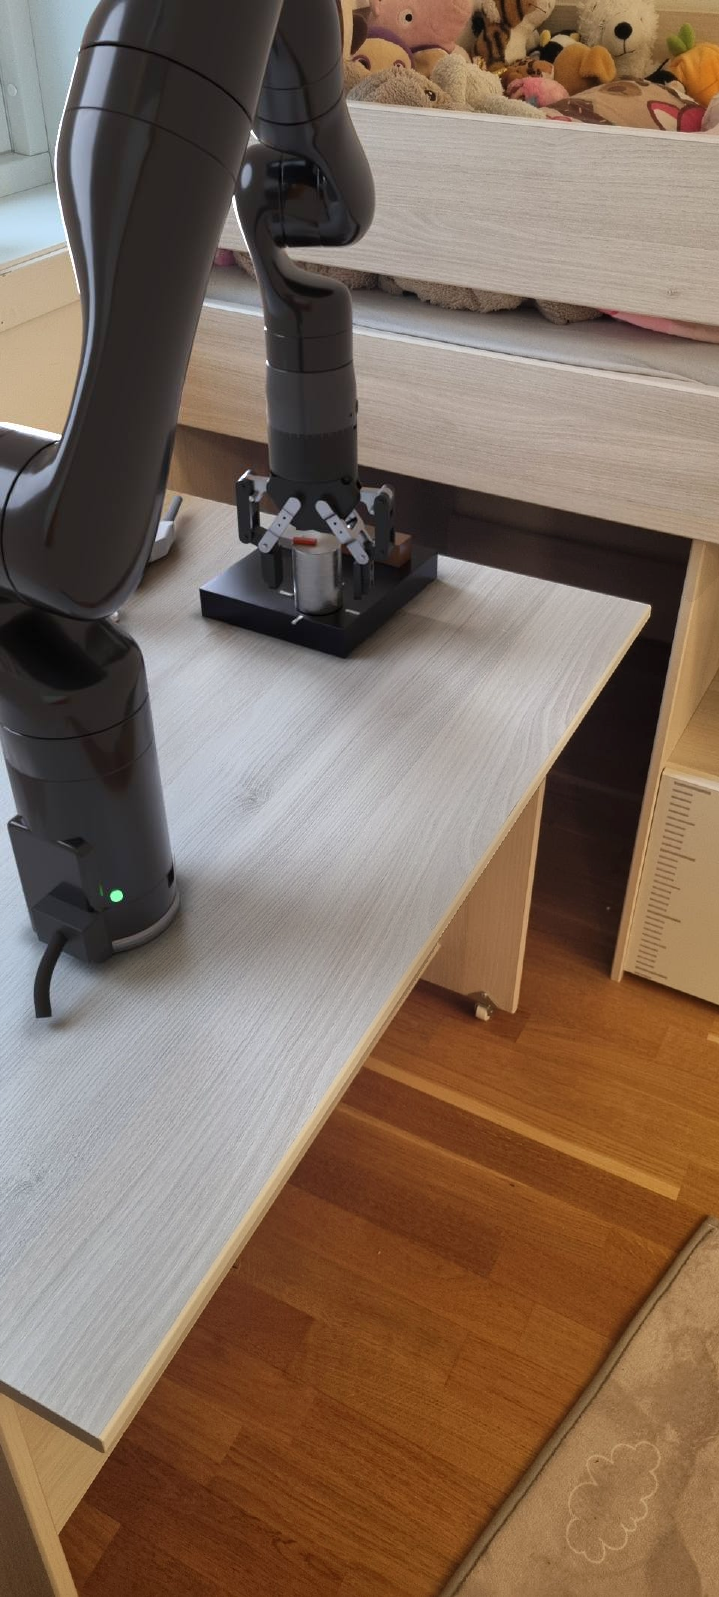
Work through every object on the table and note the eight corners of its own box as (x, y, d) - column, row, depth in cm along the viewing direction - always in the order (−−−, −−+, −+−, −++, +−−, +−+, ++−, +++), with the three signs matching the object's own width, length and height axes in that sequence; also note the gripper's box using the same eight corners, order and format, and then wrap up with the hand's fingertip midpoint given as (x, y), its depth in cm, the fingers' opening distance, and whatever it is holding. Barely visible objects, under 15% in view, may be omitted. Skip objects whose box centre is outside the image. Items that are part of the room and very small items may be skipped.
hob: (337, 665, 107) (336, 634, 105) (193, 622, 114) (190, 592, 112) (437, 577, 120) (438, 548, 118) (303, 543, 127) (302, 515, 125)
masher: (420, 550, 118) (420, 528, 117) (390, 575, 114) (390, 552, 113) (301, 521, 124) (300, 499, 122) (268, 543, 120) (267, 521, 118)
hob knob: (347, 594, 111) (346, 531, 107) (336, 617, 108) (334, 553, 104) (302, 589, 112) (299, 527, 108) (289, 612, 109) (285, 548, 105)
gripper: (214, 422, 98) (230, 600, 108) (383, 438, 95) (383, 620, 105) (246, 391, 104) (258, 563, 114) (406, 405, 100) (404, 581, 110)
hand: (318, 590), depth 109 cm, fingers open, 7 cm apart
